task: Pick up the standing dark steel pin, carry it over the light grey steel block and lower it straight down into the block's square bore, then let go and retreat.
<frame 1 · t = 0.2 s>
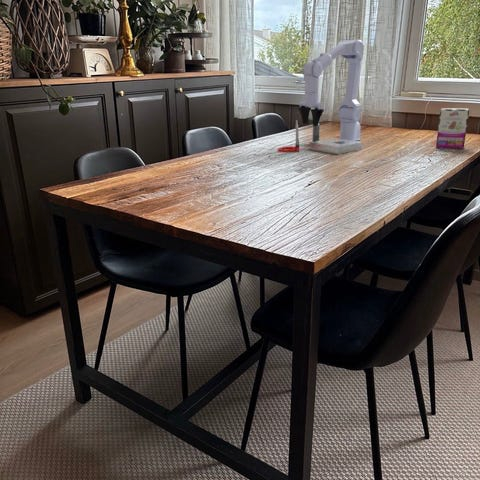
hand: (310, 124, 204), 10 cm above the table, fingers open, 7 cm apart
pin: (315, 143, 217), on the table
bore block: (335, 149, 204), on the table
candy bar box: (449, 148, 202), on the table
tow hook: (288, 150, 203), on the table
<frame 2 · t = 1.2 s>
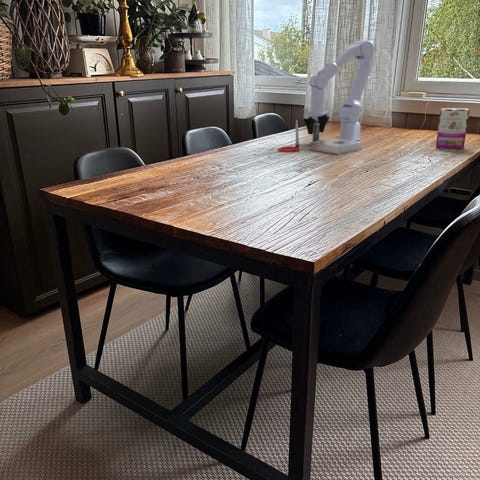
hand: (315, 133, 215), 5 cm above the table, fingers open, 7 cm apart
nothing on the table moved.
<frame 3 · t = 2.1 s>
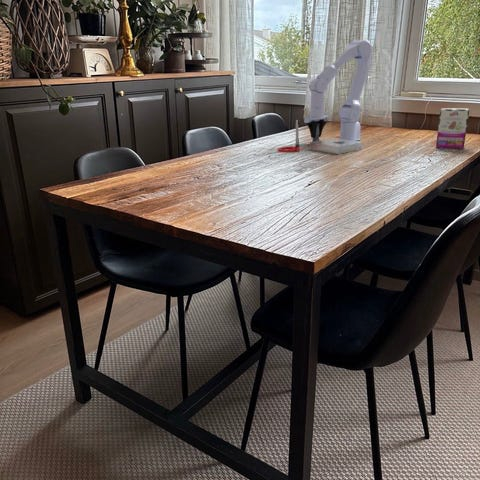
hand: (315, 137, 216), 3 cm above the table, fingers closed on pin, 3 cm apart
pin: (315, 143, 217), on the table, touching gripper
everything else where it was.
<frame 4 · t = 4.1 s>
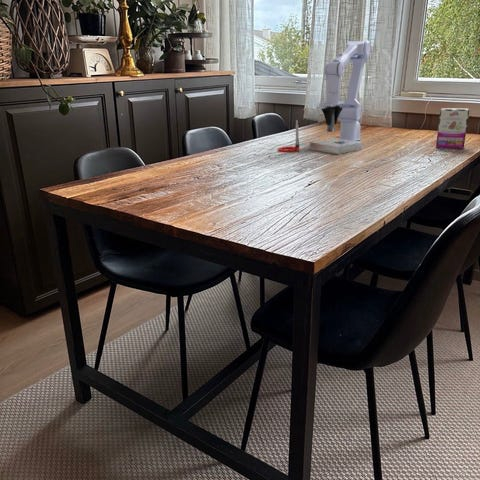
hand: (331, 124, 204), 10 cm above the table, fingers closed on pin, 3 cm apart
pin: (330, 131, 205), point 7 cm above the table, touching gripper
everything else where it was.
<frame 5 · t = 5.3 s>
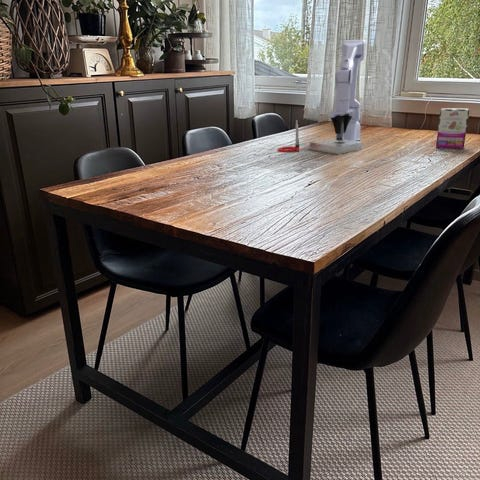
hand: (340, 133, 199), 7 cm above the table, fingers closed on pin, 3 cm apart
pin: (339, 140, 201), point 4 cm above the table, touching gripper
everything else where it was.
when the fingers open (4 cm above the table, at t = 6.3 s): pin stays where it is, resting in bore block.
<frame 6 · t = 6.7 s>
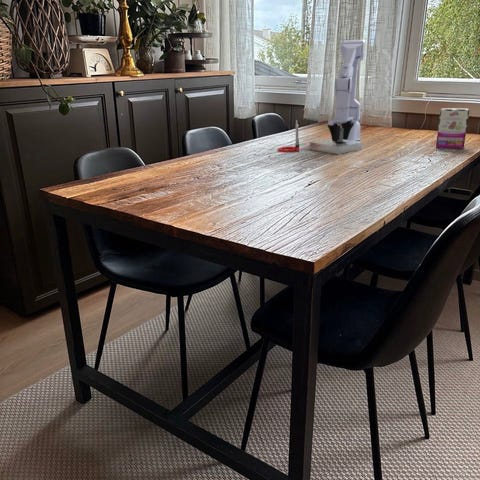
hand: (339, 140, 201), 4 cm above the table, fingers open, 6 cm apart
pin: (339, 149, 202), resting in bore block
everything else where it was.
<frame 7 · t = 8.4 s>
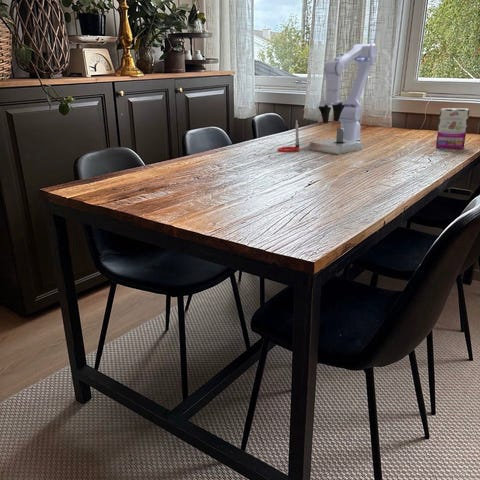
hand: (330, 122, 208), 10 cm above the table, fingers open, 7 cm apart
nothing on the table moved.
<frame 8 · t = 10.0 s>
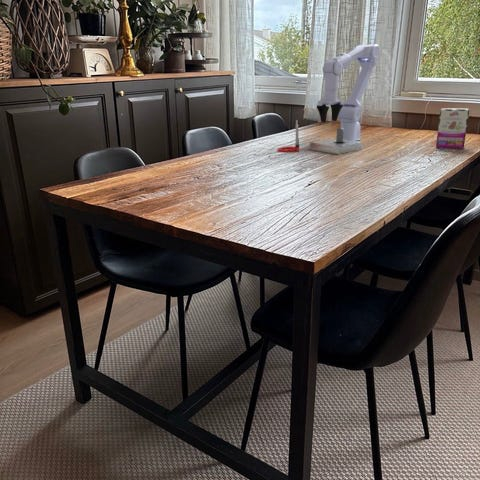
hand: (328, 121, 209), 10 cm above the table, fingers open, 7 cm apart
nothing on the table moved.
at the end: pin 0.1 cm from the target spot on the bore block, point 0.0 cm above the bore block's base; pin tilted 0°; the gripper is holding nothing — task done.
